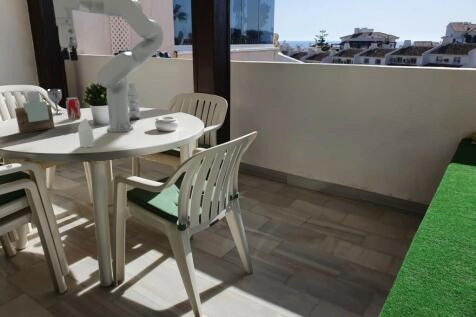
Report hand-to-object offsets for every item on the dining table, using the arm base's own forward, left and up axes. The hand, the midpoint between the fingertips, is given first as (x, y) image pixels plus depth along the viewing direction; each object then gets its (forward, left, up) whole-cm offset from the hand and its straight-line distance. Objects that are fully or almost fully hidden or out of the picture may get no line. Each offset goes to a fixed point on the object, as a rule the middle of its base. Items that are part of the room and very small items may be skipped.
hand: (70, 60), depth 172 cm
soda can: (+29, -9, -34) cm, 46 cm away
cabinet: (+10, +16, -29) cm, 34 cm away
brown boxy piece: (+15, +16, -34) cm, 41 cm away
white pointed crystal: (-34, +11, -34) cm, 50 cm away
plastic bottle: (+4, -34, -34) cm, 49 cm away
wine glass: (+50, -7, -34) cm, 61 cm away
